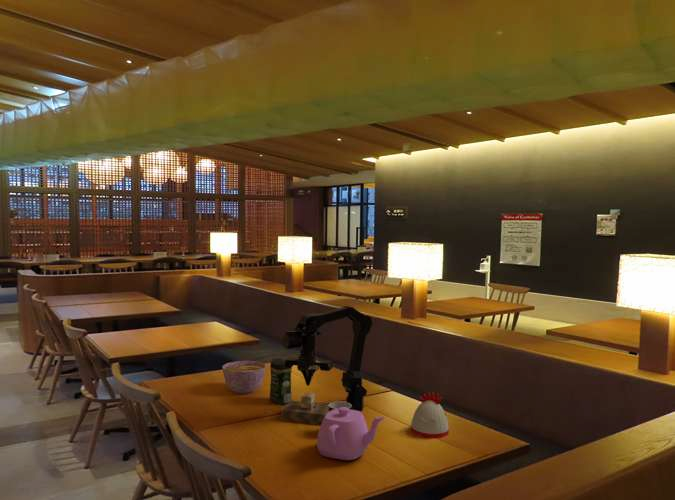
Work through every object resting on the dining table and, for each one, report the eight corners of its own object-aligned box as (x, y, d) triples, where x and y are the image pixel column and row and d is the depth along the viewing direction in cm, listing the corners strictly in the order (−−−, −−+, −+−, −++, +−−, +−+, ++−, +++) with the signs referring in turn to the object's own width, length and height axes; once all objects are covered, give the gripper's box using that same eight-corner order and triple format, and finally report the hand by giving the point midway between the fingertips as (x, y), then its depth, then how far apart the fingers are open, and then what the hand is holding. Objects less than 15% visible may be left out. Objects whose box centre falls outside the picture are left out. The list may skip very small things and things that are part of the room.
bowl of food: (275, 389, 247) (275, 364, 247) (245, 400, 230) (245, 374, 230) (242, 382, 258) (243, 358, 257) (212, 392, 241) (212, 367, 240)
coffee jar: (266, 400, 232) (267, 357, 231) (282, 397, 236) (283, 355, 236) (278, 406, 224) (278, 362, 223) (294, 403, 229) (294, 360, 228)
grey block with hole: (333, 414, 215) (333, 404, 215) (325, 425, 203) (325, 414, 203) (291, 410, 219) (291, 400, 219) (280, 420, 208) (281, 410, 208)
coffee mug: (334, 438, 191) (335, 410, 191) (323, 429, 199) (324, 403, 198) (362, 432, 196) (363, 406, 196) (351, 425, 204) (351, 399, 204)
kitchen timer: (445, 440, 191) (446, 399, 190) (407, 434, 195) (408, 394, 195) (451, 427, 204) (452, 388, 203) (415, 422, 208) (416, 384, 208)
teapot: (304, 462, 170) (305, 416, 170) (329, 439, 190) (330, 397, 189) (372, 476, 162) (373, 427, 162) (391, 449, 182) (392, 406, 181)
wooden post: (314, 416, 213) (314, 394, 213) (311, 419, 209) (311, 397, 208) (304, 415, 214) (304, 392, 214) (300, 418, 210) (301, 396, 209)
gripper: (279, 349, 205) (278, 389, 205) (326, 352, 200) (325, 393, 201) (289, 343, 216) (288, 381, 216) (333, 346, 211) (332, 385, 212)
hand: (308, 385), depth 211 cm, fingers closed
